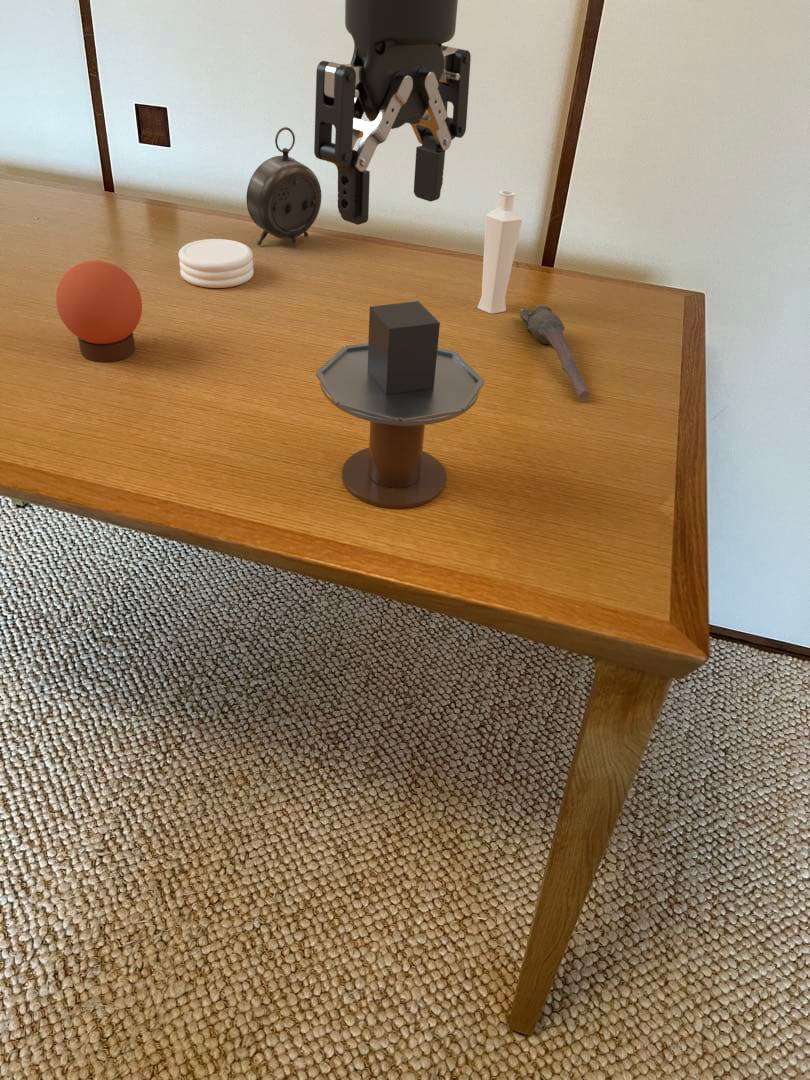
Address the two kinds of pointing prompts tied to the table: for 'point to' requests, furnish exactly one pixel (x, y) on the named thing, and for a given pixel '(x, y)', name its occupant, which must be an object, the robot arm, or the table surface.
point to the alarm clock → (283, 196)
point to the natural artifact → (555, 342)
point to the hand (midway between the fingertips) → (391, 209)
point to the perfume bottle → (499, 252)
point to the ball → (100, 309)
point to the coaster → (216, 263)
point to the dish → (396, 425)
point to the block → (402, 347)
